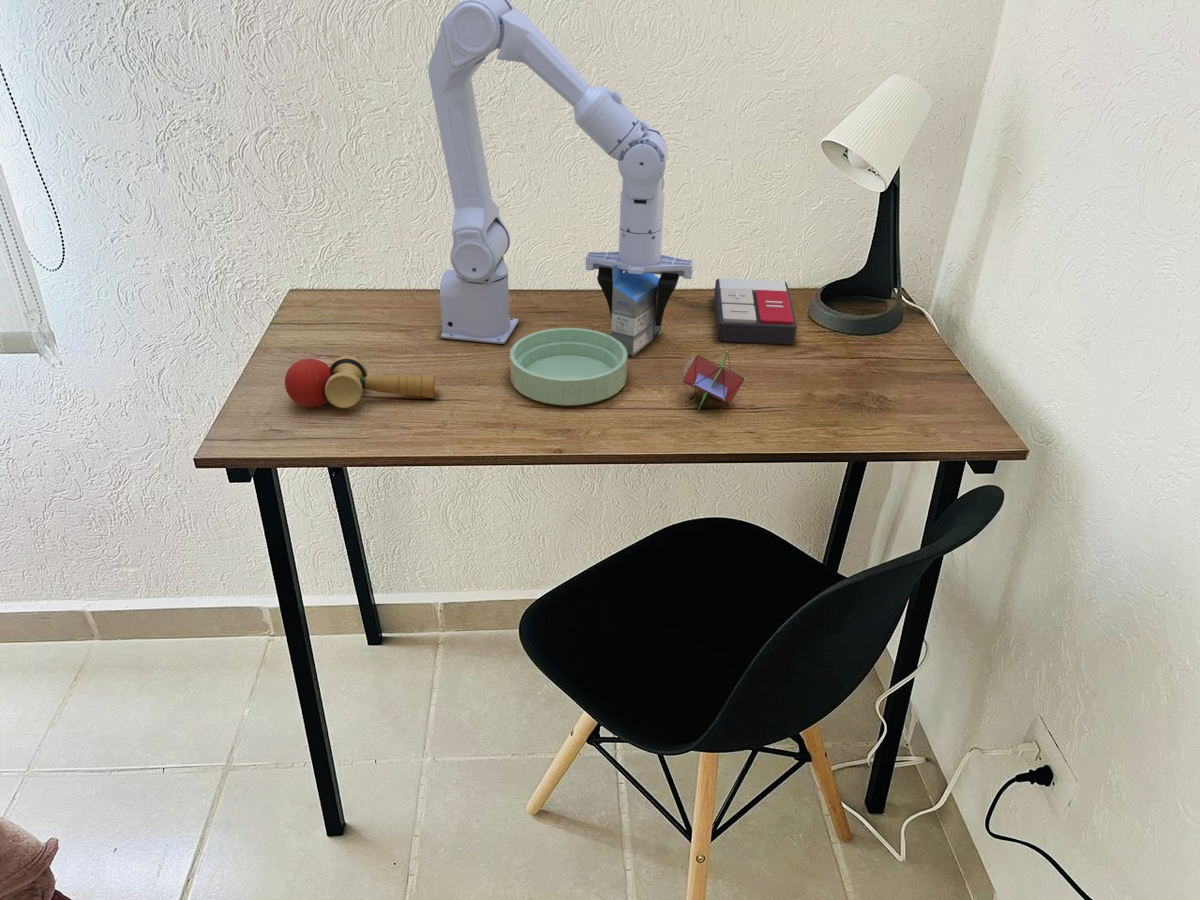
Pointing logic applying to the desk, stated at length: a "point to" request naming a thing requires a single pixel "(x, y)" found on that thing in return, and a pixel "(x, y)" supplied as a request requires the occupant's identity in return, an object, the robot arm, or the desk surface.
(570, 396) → the bowl
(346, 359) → the kendama
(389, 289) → the desk surface
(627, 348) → the tape cartridge
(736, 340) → the calculator
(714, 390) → the geometric puzzle
